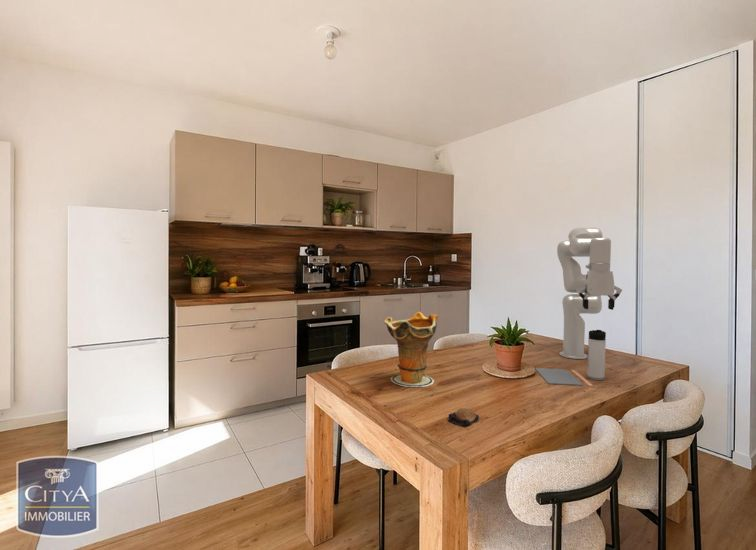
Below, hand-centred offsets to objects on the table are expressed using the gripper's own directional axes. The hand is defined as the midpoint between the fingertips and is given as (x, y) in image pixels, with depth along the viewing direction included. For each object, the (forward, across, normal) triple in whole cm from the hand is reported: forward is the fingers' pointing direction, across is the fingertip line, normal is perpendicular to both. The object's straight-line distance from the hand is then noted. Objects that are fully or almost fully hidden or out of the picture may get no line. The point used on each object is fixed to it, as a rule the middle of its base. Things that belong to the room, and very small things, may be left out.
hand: (598, 308), depth 159 cm
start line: (+29, -6, -1) cm, 30 cm away
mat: (+29, -16, -1) cm, 33 cm away
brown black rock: (+30, -58, -48) cm, 81 cm away
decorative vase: (+30, -76, -14) cm, 83 cm away
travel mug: (+29, 0, 0) cm, 29 cm away
